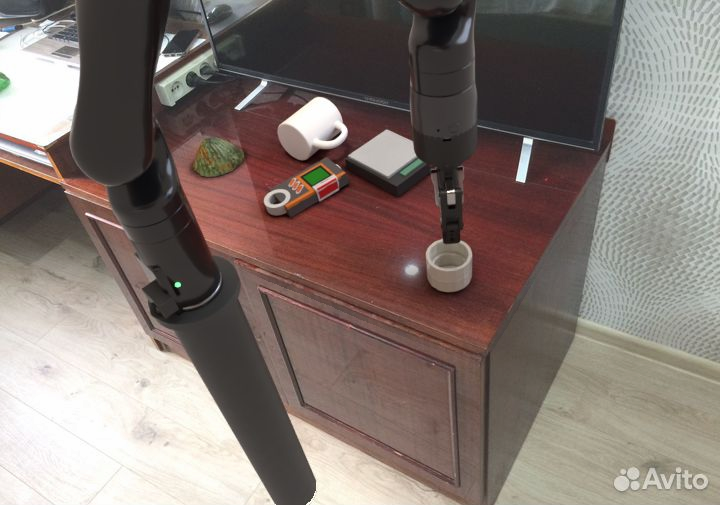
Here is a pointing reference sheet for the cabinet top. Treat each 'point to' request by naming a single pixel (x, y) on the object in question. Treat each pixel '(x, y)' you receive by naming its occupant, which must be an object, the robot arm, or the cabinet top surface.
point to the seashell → (216, 157)
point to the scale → (388, 163)
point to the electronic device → (305, 188)
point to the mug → (312, 129)
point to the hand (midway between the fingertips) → (448, 219)
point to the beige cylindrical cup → (449, 265)
